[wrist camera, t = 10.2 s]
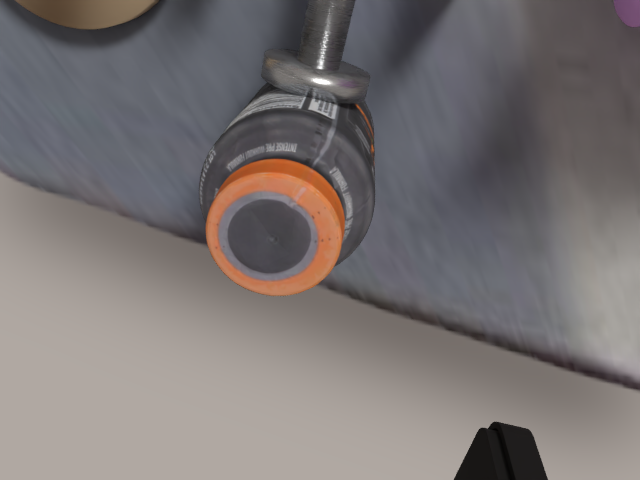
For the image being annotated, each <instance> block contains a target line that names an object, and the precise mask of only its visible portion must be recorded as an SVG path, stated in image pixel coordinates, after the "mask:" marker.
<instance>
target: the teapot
mask: <svg viewBox="0 0 640 480" xmlns="http://www.w3.org/2000/svg"><path fill="white" fill-rule="evenodd" d="M614 6H615V10H616V13H617V14H618V16H619V18H620V19H621V20H622V21H623V22H624V23H625V24H626V25H628V26H630V27H639V26H640V0H614Z"/></svg>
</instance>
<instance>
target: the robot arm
mask: <svg viewBox="0 0 640 480" xmlns="http://www.w3.org/2000/svg"><path fill="white" fill-rule="evenodd" d="M454 480H548V479H547V476H546V473H545V470H544V467H543V464H542V461H541V458H540V455H539V452H538V449H537V446H536V443H535V440H534V437H533V435H532V433H531V431H530V430H529V429H526V428H521V427H517V426H513V425H508V424H504V423H500V422H493V423H492V424H491V425H490V427H489V428H488V429H487V428H480V429H479V430H478V432H477V434H476V436H475V438H474V440H473V442H472V444H471V446H470V448H469V450H468V452H467V454H466V456H465V458H464V460H463V462H462V464H461V466H460V468H459V470H458V472H457V474H456V476H455V478H454Z"/></svg>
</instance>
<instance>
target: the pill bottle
mask: <svg viewBox="0 0 640 480" xmlns="http://www.w3.org/2000/svg"><path fill="white" fill-rule="evenodd" d="M374 155H375V153H374V126H373V120H372V116H371V113H370V111H369V109H368V106H367V104H366V102H365V100H364V101H362V102H359V103H335V102H327V101H321V100H316V99H312V98H309V97H304V96H300V95H296V94H293V93H290V92H287V91H285V90H282V89H280V88H277V87H275V86H273V85H271V84H269V83H266V84H265V85H264V86H263V87H262V88H261V89H260V90H259V92H258V93H257V94H256V95H255V96H254V98H253V99H252V100H251V101H250V102H249V104H248V105H247V106H246V107H245V108H244V109H243V111H242V112H241V113H240V114H239V115H238V116H237V117H236V118H235V119H234V120H233V121H232V122H231V123H230V125H229V126H228V127H227V128H226V130H225V132H224V133H223V134H222V135H221V137H220V138H219V139H218V140H217V142H216V143H215V144H214V146H213V147H212V149H211V150H210V152H209V154H208V156H207V158H206V160H205V162H204V165H203V169H202V172H201V177H200V185H199V197H200V206H201V210H202V214H203V217H204V220H205V222H206V239H207V244H208V247H209V250H210V253H211V255H212V257H213V259H214V261H215V262H216V264H217V265H218V266H219V268H220V269H221V270H222V271H223V273H224V274H225V275H227V276H228V277H229V278H230V279H231V280H232V281H234V282H235V283H236V284H238V285H240V286H242V287H243V288H245V289H248V290H250V291H253V292H256V293H260V294H264V295H270V296H286V295H292V294H297V293H300V292H303V291H305V290H307V289H310V288H312V287H314V286H315V285H317V284H318V283H320V282H321V281H322V280H323V279H324V278H325V277H326V276H327V275H328V274H329V273H330V272H331V270H332V269H333V267H334V266H336V265H338V264H340V263H341V262H342V261H343V260H345V259H346V258H347V257H348V256H349V255H351V254H352V253H353V251H354V250H355V249H356V248H357V247H358V246H359V244H360V243H361V241H362V240H363V238H364V236H365V235H366V233H367V231H368V228H369V226H370V223H371V220H372V217H373V212H374V205H375V167H374Z"/></svg>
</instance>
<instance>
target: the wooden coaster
mask: <svg viewBox="0 0 640 480" xmlns="http://www.w3.org/2000/svg"><path fill="white" fill-rule="evenodd" d="M15 1H16V2H18V3H19V4H20V5H22V6H23V7H24V8H26V9H27V10H29V11H31V12H32V13H34V14H36V15H37V16H39V17H41V18H44V19H46V20H48V21H50V22H53V23H56V24H59V25H62V26H65V27H71V28H77V29H100V28H107V27H111V26H114V25H118V24H122V23H125V22H128V21H131V20H133V19H135V18H137V17H139V16H141V15H142V14H144V13H145V12H147V11H149V10H150V9H151V8H152V7H153V6H154V5H155V4H157V3H158V2H159V1H160V0H15Z"/></svg>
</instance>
